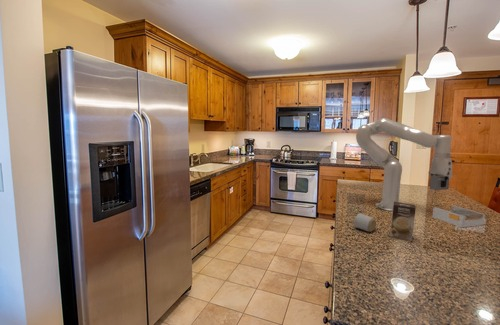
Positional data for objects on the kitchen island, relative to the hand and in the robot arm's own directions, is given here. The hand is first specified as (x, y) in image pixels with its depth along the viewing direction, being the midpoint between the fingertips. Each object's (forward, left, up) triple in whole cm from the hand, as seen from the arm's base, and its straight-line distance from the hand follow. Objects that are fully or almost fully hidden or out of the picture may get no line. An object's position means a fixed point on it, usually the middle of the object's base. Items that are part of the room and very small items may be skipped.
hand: (439, 186), depth 155 cm
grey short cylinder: (-59, -9, -18) cm, 62 cm away
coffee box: (-49, -21, -18) cm, 56 cm away
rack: (+1, -11, -18) cm, 21 cm away
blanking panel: (0, 0, -2) cm, 2 cm away
